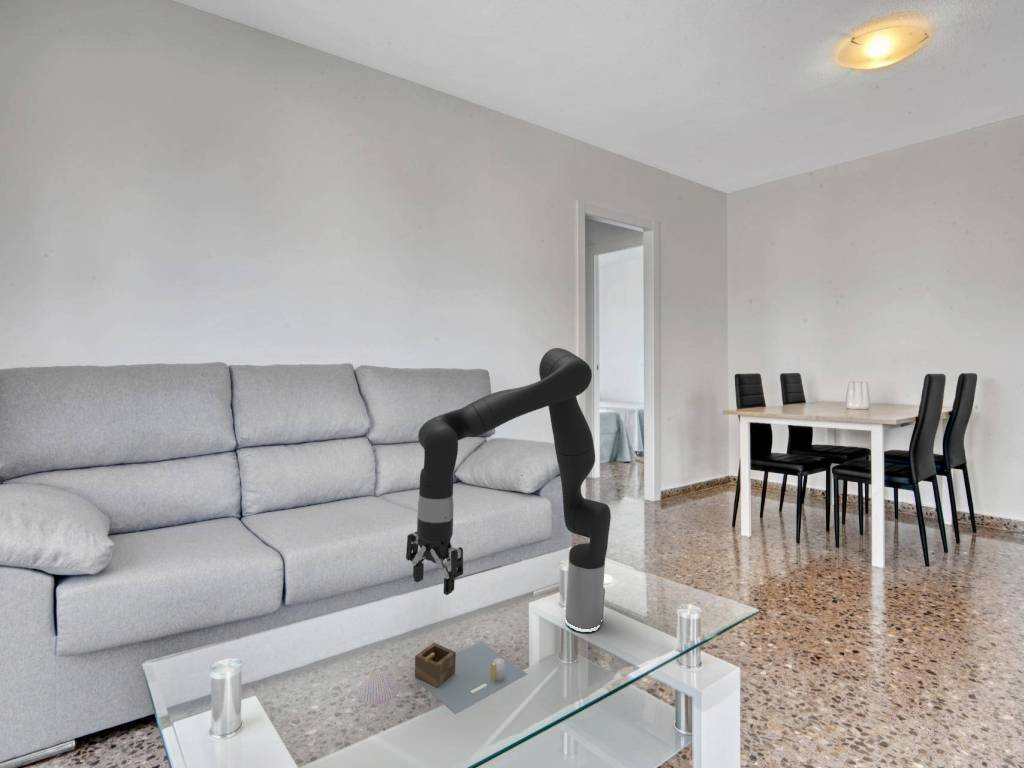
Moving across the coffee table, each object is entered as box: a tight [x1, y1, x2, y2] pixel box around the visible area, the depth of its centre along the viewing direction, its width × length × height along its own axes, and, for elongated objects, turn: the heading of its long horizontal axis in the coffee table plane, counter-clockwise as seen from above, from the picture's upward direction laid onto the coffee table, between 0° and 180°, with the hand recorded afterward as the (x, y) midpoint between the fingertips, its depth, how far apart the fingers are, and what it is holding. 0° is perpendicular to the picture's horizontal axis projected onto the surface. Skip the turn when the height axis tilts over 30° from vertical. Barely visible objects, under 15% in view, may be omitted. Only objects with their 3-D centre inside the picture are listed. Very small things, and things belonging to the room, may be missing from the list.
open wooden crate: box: [414, 642, 457, 688], centre depth 128 cm, size 6×6×6 cm
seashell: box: [356, 671, 401, 706], centre depth 123 cm, size 10×6×10 cm
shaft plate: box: [410, 641, 528, 715], centre depth 129 cm, size 20×16×5 cm
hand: (433, 587), depth 127 cm, fingers open, 8 cm apart
